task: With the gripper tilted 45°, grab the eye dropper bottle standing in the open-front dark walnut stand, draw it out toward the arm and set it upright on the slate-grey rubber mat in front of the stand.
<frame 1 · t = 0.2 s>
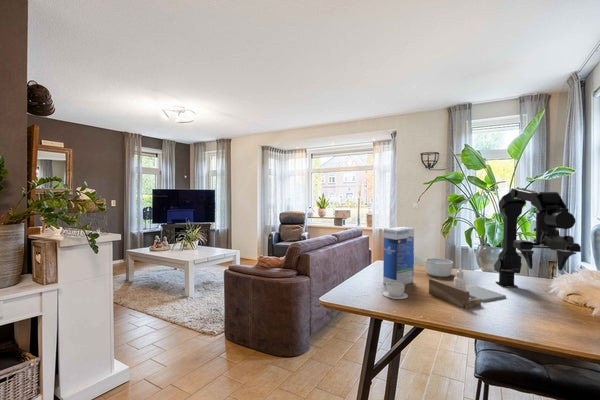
hand: (545, 269, 107), 14 cm above the table, tool pointing down, fingers open, 9 cm apart
string lights box: (398, 283, 138), on the table
grey mat: (479, 294, 123), on the table
teacup: (395, 296, 122), on the table
ramekin: (438, 274, 154), on the table
walnut stand: (459, 297, 119), on the table
eye dropper bottle: (459, 298, 119), on the table
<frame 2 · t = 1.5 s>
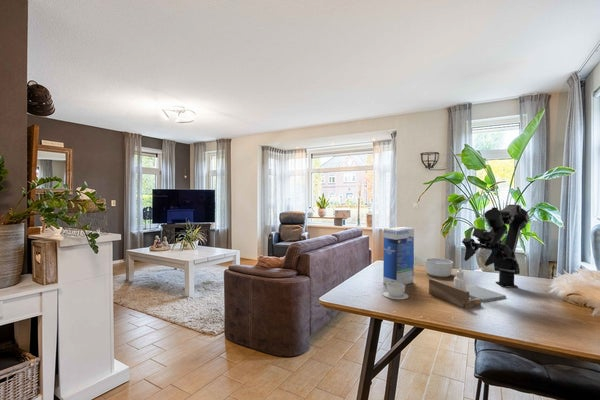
hand: (474, 262, 121), 14 cm above the table, tool tilted 45°, fingers open, 9 cm apart
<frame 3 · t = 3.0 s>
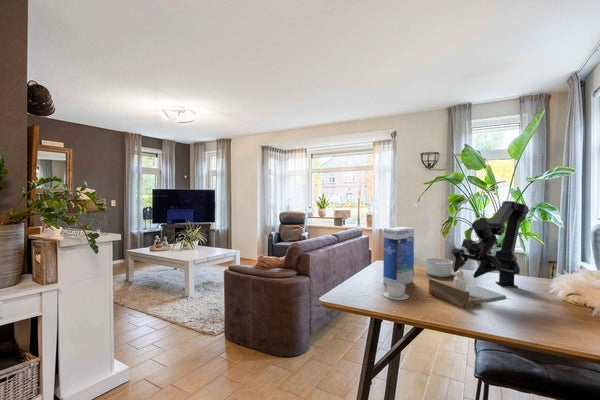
hand: (463, 274, 119), 9 cm above the table, tool tilted 45°, fingers open, 9 cm apart
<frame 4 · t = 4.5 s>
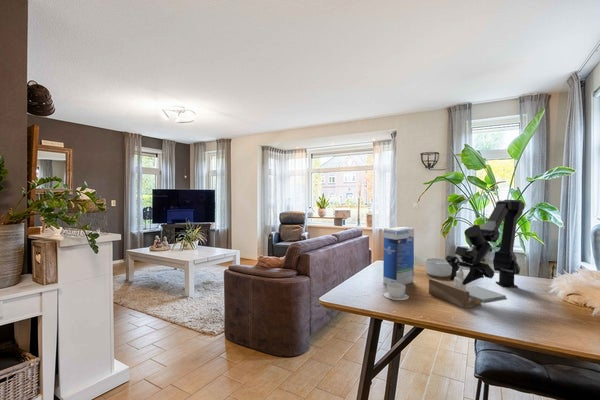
hand: (457, 282, 118), 7 cm above the table, tool tilted 45°, fingers closed on eye dropper bottle, 5 cm apart
eye dropper bottle: (459, 298, 119), on the table, touching gripper
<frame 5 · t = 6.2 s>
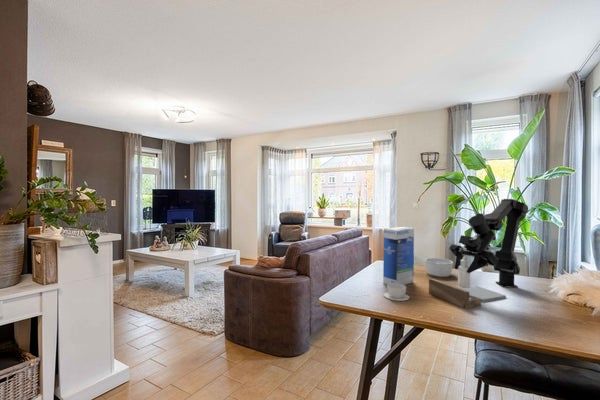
hand: (461, 270, 119), 11 cm above the table, tool tilted 45°, fingers closed on eye dropper bottle, 5 cm apart
eye dropper bottle: (463, 286, 120), point 4 cm above the table, touching gripper
when the fingers open (9 cm above the table, at t = 8.1 s): eye dropper bottle drops 1 cm, resting on grey mat.
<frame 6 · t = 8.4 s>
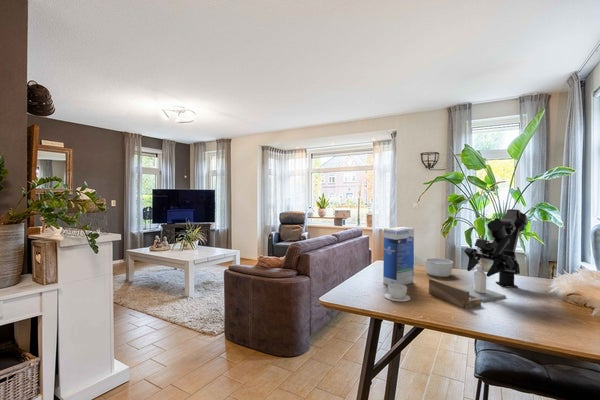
hand: (477, 273, 122), 9 cm above the table, tool tilted 45°, fingers open, 8 cm apart
eye dropper bottle: (479, 292, 123), point 1 cm above the table, touching grey mat
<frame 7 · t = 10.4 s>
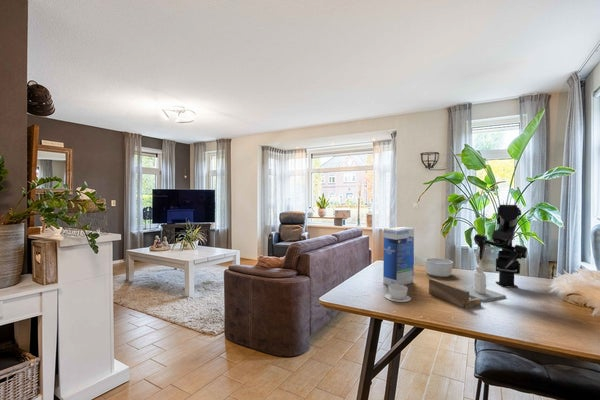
hand: (492, 263, 122), 13 cm above the table, tool tilted 35°, fingers open, 9 cm apart
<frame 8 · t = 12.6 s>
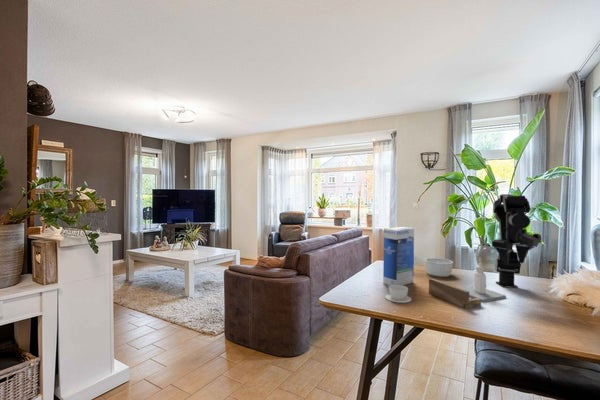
hand: (513, 263, 121), 13 cm above the table, tool pointing down, fingers open, 9 cm apart
at the end: eye dropper bottle inside the target area on the grey mat (0.2 cm from its centre), point 0.8 cm above the grey mat's base; eye dropper bottle tilted 0°; the gripper is holding nothing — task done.
